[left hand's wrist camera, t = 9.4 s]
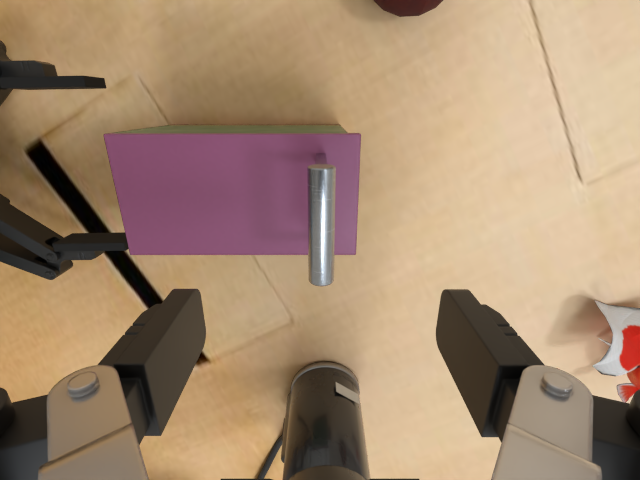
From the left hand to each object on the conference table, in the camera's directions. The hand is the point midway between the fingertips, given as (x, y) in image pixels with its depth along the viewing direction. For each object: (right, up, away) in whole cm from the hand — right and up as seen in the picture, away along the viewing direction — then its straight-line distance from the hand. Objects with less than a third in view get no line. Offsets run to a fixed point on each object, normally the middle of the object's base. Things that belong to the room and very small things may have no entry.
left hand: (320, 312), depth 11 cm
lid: (-6, +6, +15) cm, 17 cm away
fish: (+38, -10, +33) cm, 51 cm away
